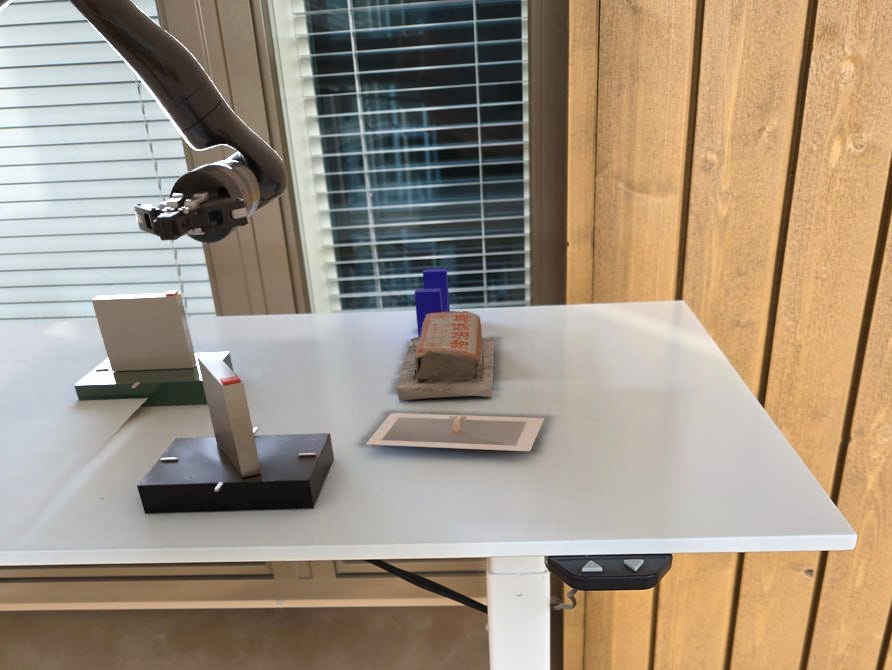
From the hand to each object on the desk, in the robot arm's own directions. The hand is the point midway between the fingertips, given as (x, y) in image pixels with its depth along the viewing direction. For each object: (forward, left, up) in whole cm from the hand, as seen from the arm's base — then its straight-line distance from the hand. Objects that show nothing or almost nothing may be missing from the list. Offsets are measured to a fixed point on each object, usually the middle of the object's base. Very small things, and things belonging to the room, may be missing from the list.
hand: (165, 229), depth 90 cm
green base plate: (-4, -2, -16) cm, 17 cm away
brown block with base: (+28, 0, -16) cm, 32 cm away
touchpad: (+30, -20, -16) cm, 39 cm away
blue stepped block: (+26, +18, -16) cm, 36 cm away
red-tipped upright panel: (+12, -28, -13) cm, 33 cm away
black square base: (+12, -28, -16) cm, 34 cm away
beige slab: (-4, -2, -13) cm, 14 cm away
